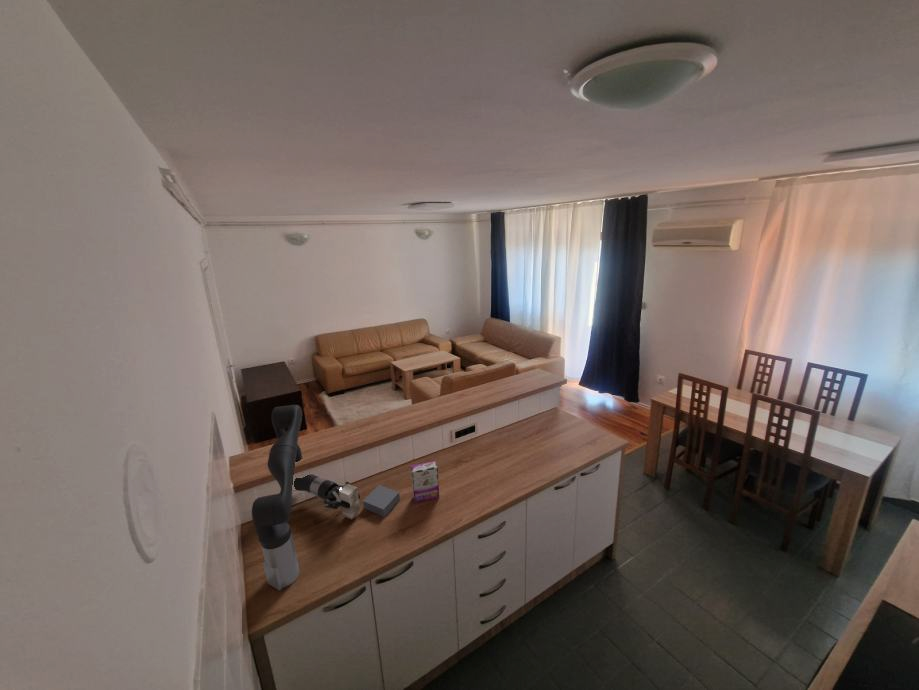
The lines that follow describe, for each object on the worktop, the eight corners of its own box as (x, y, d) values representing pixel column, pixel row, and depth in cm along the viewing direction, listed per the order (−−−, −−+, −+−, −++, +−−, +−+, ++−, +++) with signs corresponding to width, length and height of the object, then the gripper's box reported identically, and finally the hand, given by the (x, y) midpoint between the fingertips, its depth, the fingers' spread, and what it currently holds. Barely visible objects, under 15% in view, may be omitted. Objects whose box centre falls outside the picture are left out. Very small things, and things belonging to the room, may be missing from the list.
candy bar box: (437, 490, 165) (435, 460, 160) (439, 498, 160) (438, 467, 155) (412, 495, 162) (410, 465, 157) (414, 503, 158) (412, 472, 152)
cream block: (351, 519, 147) (348, 495, 143) (342, 515, 149) (339, 491, 146) (360, 511, 151) (357, 487, 148) (350, 507, 154) (347, 483, 150)
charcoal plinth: (384, 517, 151) (383, 509, 149) (363, 508, 155) (362, 500, 154) (399, 499, 160) (399, 492, 159) (379, 492, 165) (379, 484, 163)
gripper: (309, 492, 147) (340, 505, 140) (335, 471, 159) (365, 482, 152) (311, 507, 149) (342, 521, 142) (337, 485, 162) (367, 497, 154)
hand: (354, 501), depth 147 cm, fingers closed on cream block, 5 cm apart
